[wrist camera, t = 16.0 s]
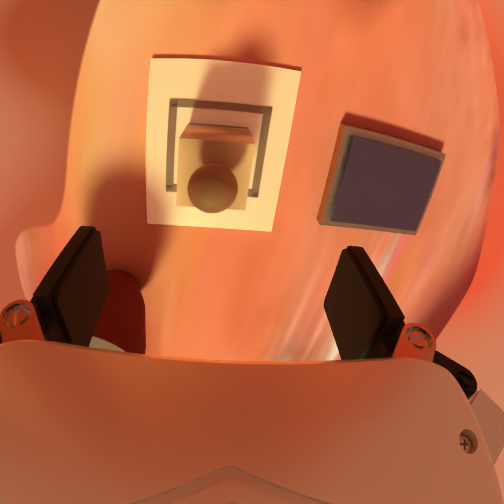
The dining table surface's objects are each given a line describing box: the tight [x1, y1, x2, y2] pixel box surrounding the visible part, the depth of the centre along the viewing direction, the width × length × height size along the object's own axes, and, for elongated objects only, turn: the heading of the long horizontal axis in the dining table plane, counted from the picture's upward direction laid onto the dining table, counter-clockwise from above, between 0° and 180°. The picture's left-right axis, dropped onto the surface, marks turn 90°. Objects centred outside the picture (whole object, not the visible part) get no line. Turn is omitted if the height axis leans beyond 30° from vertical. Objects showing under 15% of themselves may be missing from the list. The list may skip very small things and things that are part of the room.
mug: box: [89, 271, 146, 354], centre depth 26 cm, size 11×8×10 cm
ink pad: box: [317, 123, 445, 235], centre depth 25 cm, size 11×9×2 cm
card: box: [146, 58, 301, 232], centre depth 22 cm, size 11×14×1 cm
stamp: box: [176, 123, 255, 213], centre depth 19 cm, size 4×4×9 cm
